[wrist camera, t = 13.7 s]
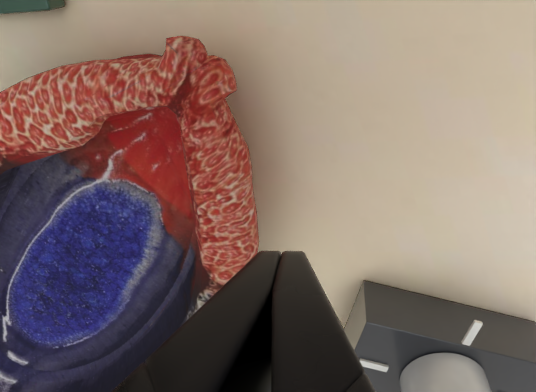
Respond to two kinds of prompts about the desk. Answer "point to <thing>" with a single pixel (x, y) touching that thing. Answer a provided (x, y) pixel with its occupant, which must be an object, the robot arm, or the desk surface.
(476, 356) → the rotary dial box
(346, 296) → the desk surface
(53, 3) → the button block
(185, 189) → the dish
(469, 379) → the rotary knob
